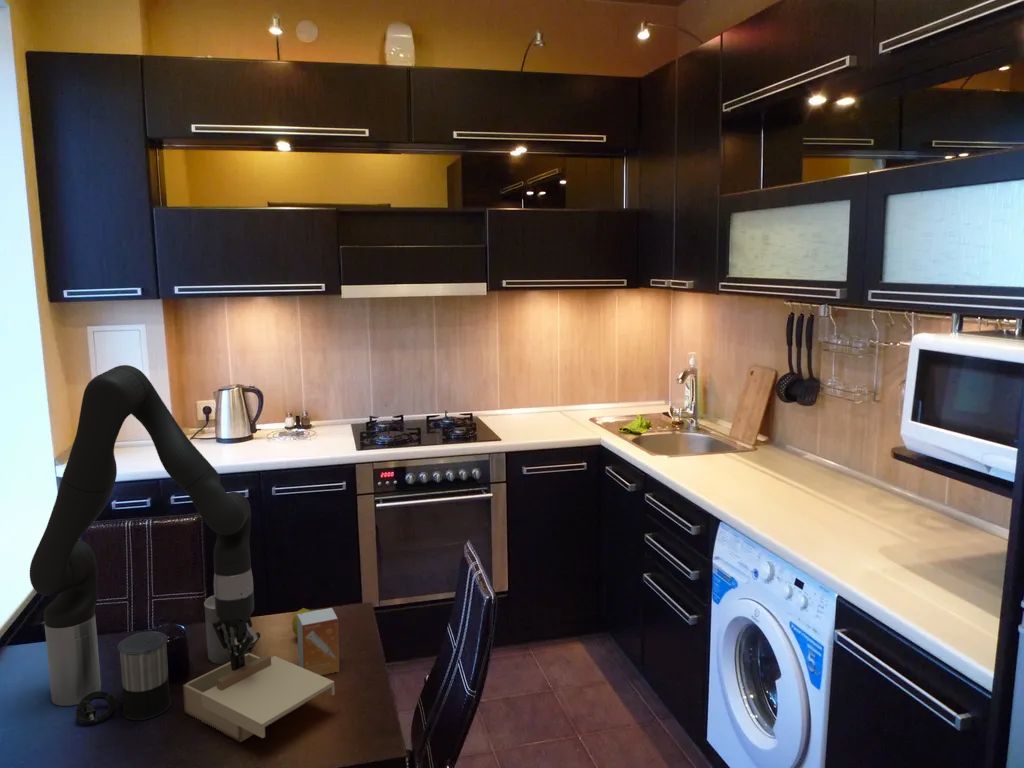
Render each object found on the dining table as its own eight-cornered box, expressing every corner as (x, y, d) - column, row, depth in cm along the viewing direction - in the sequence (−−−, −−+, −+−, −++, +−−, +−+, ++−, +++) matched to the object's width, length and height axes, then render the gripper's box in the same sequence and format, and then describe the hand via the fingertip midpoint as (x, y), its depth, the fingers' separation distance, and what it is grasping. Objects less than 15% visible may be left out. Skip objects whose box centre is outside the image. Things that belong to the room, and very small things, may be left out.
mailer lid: (202, 706, 150) (200, 684, 149) (275, 668, 164) (274, 648, 164) (262, 738, 139) (261, 715, 139) (334, 694, 154) (333, 673, 153)
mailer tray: (184, 712, 155) (182, 685, 154) (250, 677, 168) (248, 652, 167) (240, 742, 145) (238, 713, 144) (305, 703, 158) (304, 676, 158)
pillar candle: (258, 645, 183) (255, 586, 181) (238, 666, 173) (234, 604, 171) (221, 643, 184) (217, 584, 182) (198, 663, 175) (194, 601, 172)
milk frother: (181, 705, 157) (176, 638, 155) (104, 743, 145) (98, 671, 142) (143, 684, 166) (139, 620, 163) (68, 718, 153) (62, 650, 151)
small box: (303, 680, 167) (301, 625, 165) (298, 667, 173) (296, 613, 171) (340, 672, 171) (338, 617, 169) (333, 659, 176) (331, 606, 175)
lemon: (310, 631, 190) (309, 601, 189) (319, 640, 186) (318, 609, 185) (289, 638, 186) (287, 607, 185) (298, 647, 182) (297, 615, 181)
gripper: (197, 589, 155) (202, 668, 157) (238, 605, 148) (243, 687, 150) (229, 577, 161) (233, 653, 164) (270, 591, 154) (274, 671, 156)
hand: (238, 669), depth 157 cm, fingers closed
